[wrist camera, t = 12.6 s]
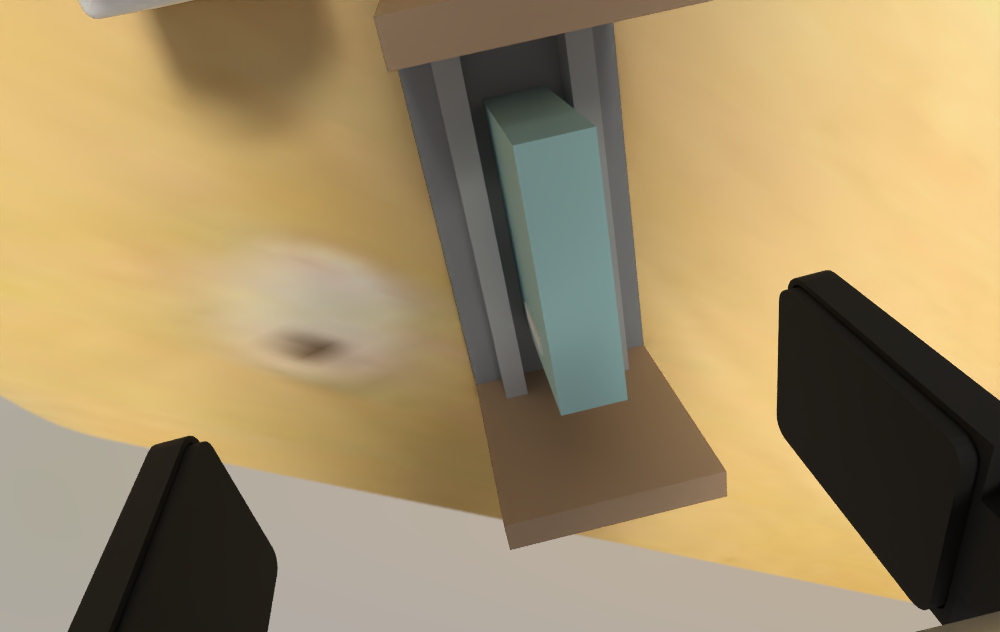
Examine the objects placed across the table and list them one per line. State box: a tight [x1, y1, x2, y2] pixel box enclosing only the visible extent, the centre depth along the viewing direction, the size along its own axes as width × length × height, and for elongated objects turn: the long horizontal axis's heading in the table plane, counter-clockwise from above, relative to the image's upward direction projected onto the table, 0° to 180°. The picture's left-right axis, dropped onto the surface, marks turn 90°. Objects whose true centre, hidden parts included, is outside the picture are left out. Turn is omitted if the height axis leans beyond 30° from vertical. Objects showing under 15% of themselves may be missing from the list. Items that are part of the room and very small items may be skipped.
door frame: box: [374, 0, 727, 550], centre depth 29 cm, size 22×10×12 cm, turn 10°
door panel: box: [482, 86, 628, 416], centre depth 30 cm, size 12×3×9 cm, turn 11°
